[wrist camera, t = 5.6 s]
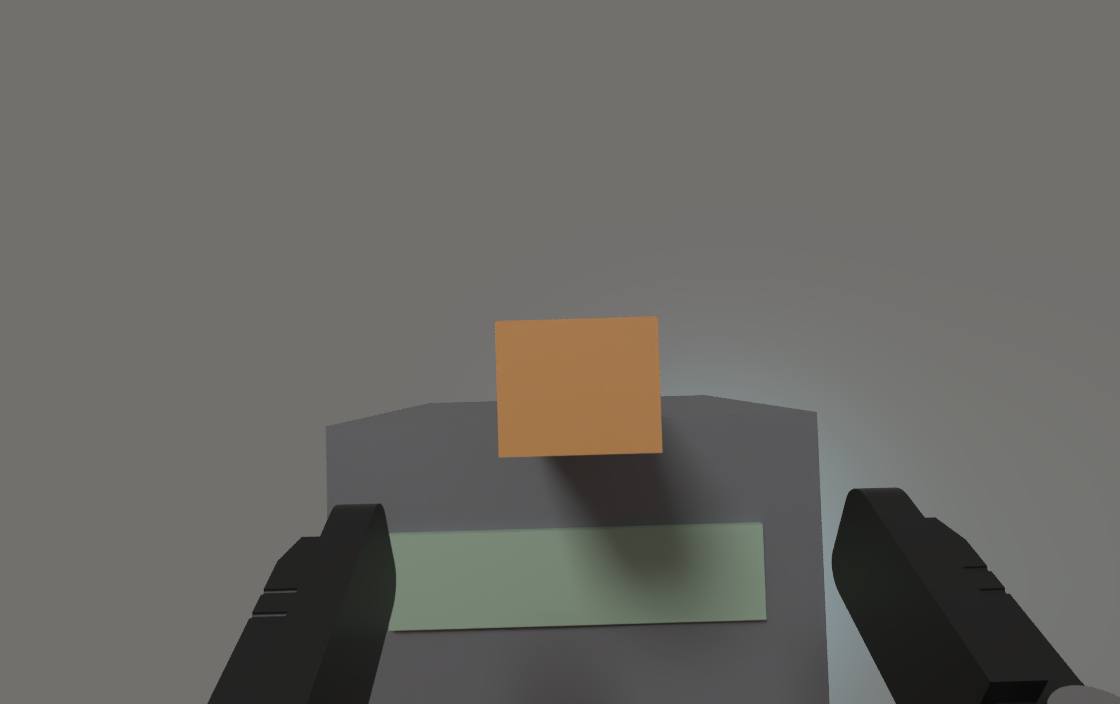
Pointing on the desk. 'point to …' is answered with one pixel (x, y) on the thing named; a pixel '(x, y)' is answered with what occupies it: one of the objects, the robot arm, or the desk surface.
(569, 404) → the lever bar
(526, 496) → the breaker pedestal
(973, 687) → the robot arm
